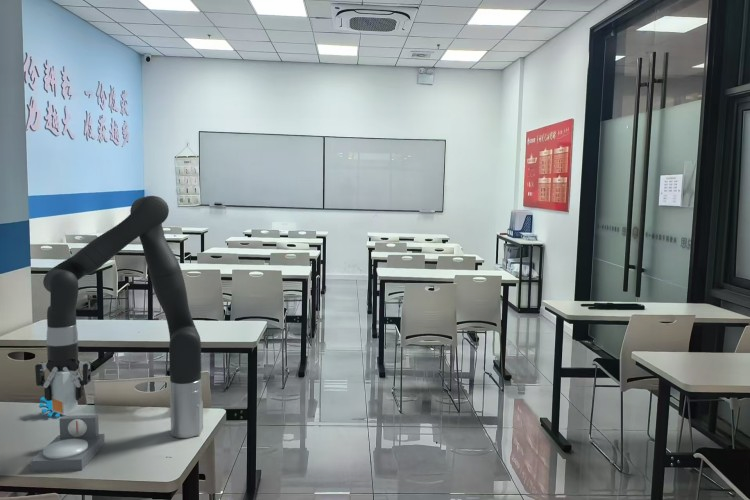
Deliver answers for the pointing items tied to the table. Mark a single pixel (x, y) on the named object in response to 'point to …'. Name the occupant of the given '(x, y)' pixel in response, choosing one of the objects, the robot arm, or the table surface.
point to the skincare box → (64, 393)
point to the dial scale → (71, 445)
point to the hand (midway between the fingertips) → (64, 399)
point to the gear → (49, 406)
